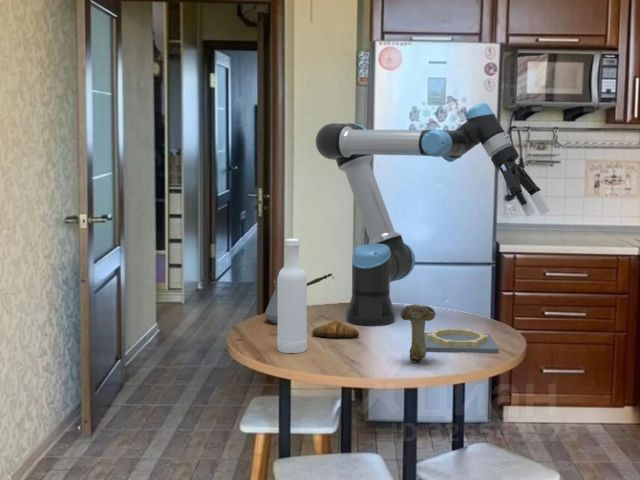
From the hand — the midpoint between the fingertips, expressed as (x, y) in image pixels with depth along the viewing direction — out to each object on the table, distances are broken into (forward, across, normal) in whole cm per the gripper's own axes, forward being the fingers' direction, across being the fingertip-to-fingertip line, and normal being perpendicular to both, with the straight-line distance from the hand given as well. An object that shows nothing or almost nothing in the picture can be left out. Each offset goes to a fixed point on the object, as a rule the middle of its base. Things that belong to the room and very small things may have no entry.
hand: (538, 213), depth 225 cm
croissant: (+4, -33, +60) cm, 68 cm away
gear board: (+22, -22, +32) cm, 45 cm away
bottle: (+3, -51, +62) cm, 81 cm away
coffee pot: (-7, -23, +75) cm, 79 cm away
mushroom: (+22, -44, +35) cm, 60 cm away
